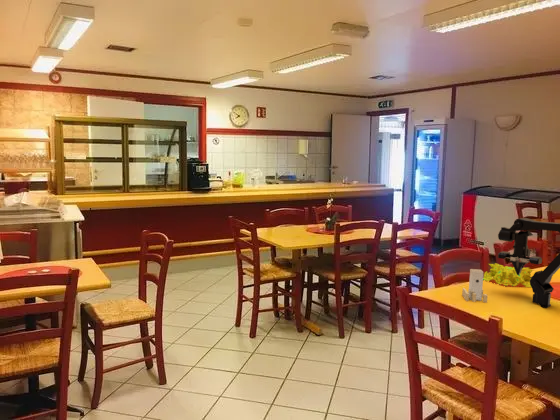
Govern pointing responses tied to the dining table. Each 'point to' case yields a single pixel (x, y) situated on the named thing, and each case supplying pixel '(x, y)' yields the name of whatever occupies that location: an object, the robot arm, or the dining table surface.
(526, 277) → the decorative piece
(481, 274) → the pillar on grey plate
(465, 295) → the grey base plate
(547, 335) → the dining table surface
